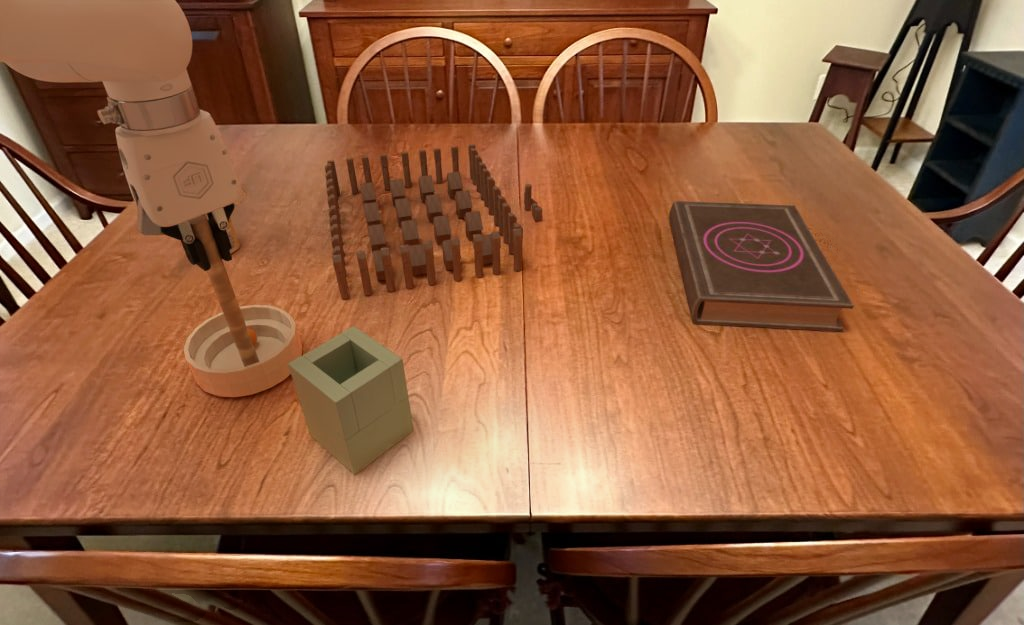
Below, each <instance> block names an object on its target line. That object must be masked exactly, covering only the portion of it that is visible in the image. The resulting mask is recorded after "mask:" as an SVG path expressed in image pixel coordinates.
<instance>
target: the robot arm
mask: <svg viewBox="0 0 1024 625" xmlns="http://www.w3.org/2000/svg"><path fill="white" fill-rule="evenodd" d="M192 55H193V36H192V31H191V27H190V25H189V22H188V19H187V17H186V15H185V13H184V11H183V9H182V8H181V6H180V5H179V3H178V2H177V1H176V0H0V63H4V64H6V65H7V66H8V67H9V68H11V69H12V70H14V71H15V72H17V73H19V74H21V75H23V76H25V77H27V78H31V79H33V80H36V81H41V82H48V83H99V82H102V84H103V87H104V89H105V91H106V94H107V96H106V100H107V106H105V107H104V108H102V109H101V108H100V109H97V111H96V112H97V115H98V117H99V119H100V121H101V123H102V124H104V125H106V124H110V123H112V124H117V125H119V126H117V127H116V128H115V130H114V131H115V138H116V144H117V148H118V153H119V157H120V162H121V165H122V169H123V172H124V176H125V179H126V182H127V184H128V185H127V186H128V187H129V190H130V194H131V196H132V199H133V201H134V203H135V205H136V207H137V211H136V230H137V232H139V233H140V234H141V235H143V236H167V237H171V238H173V239H176V240H178V241H180V242H181V246H182V248H183V251H184V253H185V256H186V258H187V260H188V262H189V263H190V264H191V265H193V266H194V265H196V266H198V267H199V268H200V269H201V270H203V271H204V272H207V270H210V268H211V266H210V263H209V260H208V258H207V255H206V252H205V250H204V247H203V244H202V242H201V240H199V239H198V238H196V236H195V234H193V231H192V228H191V226H190V223H189V220H191V219H194V218H196V217H199V216H202V215H204V214H206V217H207V219H208V222H209V225H210V227H211V230H212V233H213V236H214V238H215V241H216V244H217V247H218V249H219V252H220V255H221V258H222V260H223V261H224V262H230V261H232V260H233V257H232V254H230V251H229V250H230V249H232V246H231V243H230V240H229V237H228V234H227V231H226V229H227V228H228V226H229V223H228V220H229V218H231V216H232V215H233V212H234V210H235V207H237V206H239V205H240V204H241V203H242V202H244V200H245V199H247V197H248V192H247V190H245V188H244V187H243V186H242V183H241V180H240V177H239V175H238V172H237V169H236V166H235V164H234V162H233V159H232V157H231V154H230V152H229V149H228V147H227V145H226V142H225V141H224V139H223V136H222V134H221V132H220V131H219V128H218V125H217V124H216V122H215V121H214V119H213V117H212V115H211V113H209V112H208V111H206V110H203V109H201V108H200V106H199V103H198V99H197V97H196V94H195V90H194V88H193V87H194V86H193V85H192V81H191V79H190V76H189V73H188V69H187V68H188V66H189V64H190V63H191V58H192Z"/></svg>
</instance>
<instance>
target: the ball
mask: <svg viewBox="0 0 1024 625" xmlns="http://www.w3.org/2000/svg"><path fill="white" fill-rule="evenodd" d="M247 329H248V328H247ZM248 332H249V334H250V337H251V340H252V343H253V345H255V344H256V341H257V336H256V333H255V332H254V331H253V330H251V329H248Z"/></svg>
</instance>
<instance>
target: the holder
mask: <svg viewBox="0 0 1024 625" xmlns="http://www.w3.org/2000/svg"><path fill="white" fill-rule="evenodd" d="M288 366H289V369H290V372H291V374H290V375H291V379H292V382H293V385H294V388H295V391H296V394H297V398H298V401H299V404H300V407H301V408H300V409H301V411H302V414H303V417H304V421H305V423H306V427H307V430H308V433H309V436H310V437H311V438H312V439H314V441H316V442H317V443H318V444H319V445H320V446H321V447H323V448H324V449H325V450H326V451H327V452H328V453H329V454H330V455H331V456H332V457H334V458H335V459H336V460H337V461H338V462H339V463H340V464H342V465H343V466H344V467H345V468H346V469H347V470H348V471H350V473H352V474H353V475H354V476H355V475H357V474H358V473H360V472H361V471H362V470H364V469H365V468H366V467H367V466H368V465H371V463H373V462H375V460H377V459H378V458H380V456H382V455H383V454H385V453H386V452H387V451H388V450H390V449H391V448H392V447H394V446H395V445H396V444H398V443H399V442H400V441H402V440H403V439H404V438H406V437H407V436H408V435H410V433H412V432H414V424H413V417H412V412H411V405H410V399H409V398H410V396H409V393H408V392H409V391H408V385H407V378H406V372H405V366H404V359H403V358H402V357H401V356H399V355H398V354H396V353H395V352H393V351H392V350H391V349H389V348H387V347H386V346H385V345H383V344H382V343H380V342H379V341H377V340H376V339H374V338H373V337H371V336H370V335H368V334H367V333H365V332H364V331H362V330H361V329H360V328H358V327H357V326H355V325H352V326H350V327H349V328H347V329H345V330H344V331H342V332H340V333H338V334H337V335H335V336H334V337H331V338H330V339H328V340H326V341H325V342H323V343H321V344H319V345H317V346H316V347H314V348H312V349H311V350H309V351H307V352H306V353H304V354H302V356H300V357H299V358H297V359H295V360H294V361H292V362H290V363H288Z"/></svg>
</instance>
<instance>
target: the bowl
mask: <svg viewBox="0 0 1024 625" xmlns="http://www.w3.org/2000/svg"><path fill="white" fill-rule="evenodd" d="M239 307H240V310H241V312H242V315H243V318H244V321H245V323H246V326H247V328H248V329H251V330H253V331H254V332H255V333H256V336H257V341H256V344H255V345H254V348H255V351H256V354H257V356H258V359H259V362H258V363H255V364H252V365H249V366H246V367H244V365H243V362H242V360H241V357H240V354H239V352H238V349H237V347H236V344H235V342H234V339H233V336H232V334H231V331H230V329H229V326H228V323H227V321H226V318H225V316H224V313H223V311H221V312H218V313H217V314H214V315H212V316H211V317H209V318H207V319H205V320H204V321H203V322H201V323H200V324H199V325H197V326H196V327H195V328H194V329H193V330H192V332H191V333H190V334H189V335H188V337H187V338H186V340H185V342H184V346H183V354H184V359H185V361H186V363H187V366H188V368H189V370H190V372H191V374H192V376H193V379H194V381H195V384H196V385H197V386H198V387H200V388H201V389H202V390H203V391H204V392H206V393H208V394H211V395H214V396H216V397H221V398H222V397H223V398H224V397H225V398H240V397H246V396H251V395H255V394H258V393H260V392H264V391H266V390H269V389H271V388H273V387H275V386H277V384H280V383H281V382H283V381H285V380H286V379H287V378H288V377H289V376H290V375H291V372H290V369H289V366H288V363H290V362H292V361H294V360H295V359H297V358H299V357H300V356H303V345H302V341H301V337H300V335H299V330H298V327H297V324H296V322H295V320H294V318H293V315H291V313H289V312H288V311H286V310H285V309H283V308H280V307H277V306H274V305H271V304H270V305H268V304H250V305H249V304H248V305H242V306H241V305H240V306H239Z"/></svg>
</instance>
